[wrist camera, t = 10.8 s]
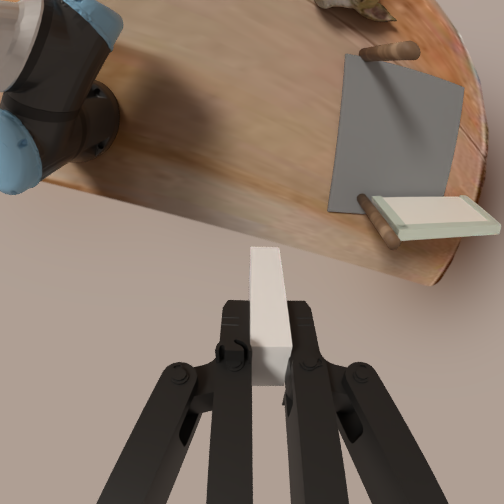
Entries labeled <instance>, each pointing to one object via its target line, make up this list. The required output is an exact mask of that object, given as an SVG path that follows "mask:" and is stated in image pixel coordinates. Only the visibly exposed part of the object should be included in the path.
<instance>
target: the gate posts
mask: <svg viewBox="0 0 504 504" xmlns="http://www.w3.org/2000/svg"><path fill="white" fill-rule="evenodd" d="M359 56H360V57H361V58H362V60H364V61H366V62H372V61H392V60H416V59H418V58H419V56H420V48H419V46H418V45H417V44H416V43H415V42H413V41H405V42H398V43H391V44H385V45H379V46H374V47H368V48H363V49H361V50H360V52H359ZM357 202H358V203H359V205H360V206H361V207H362V209H363V210H364V212H365V213H366V215H367V216H368V217H369V219H370V220H371V222H372V223H373V225H374V226H375V228H376V229H377V231H378V232H379V234H380V235H381V237H382V238H383V240H384V241H385V243H386V244H387V246H388V248H389V249H391V250H395V249H397V248H398V247H399V246H400V244H401V241H400V239H399V237H398V236H397V235H396V233H395V232H394V231H393V229H392V228H391V227H390V225H389V224H388V223H387V221H386V220H385V219H384V217H383V216H382V215H381V213H380V212H379V211H378V210H377V208H376V207H375V206H374V205H373V203H372V202H371V201H370V200H369V198H368V197H367V196H366V195H365V194H363V193H362V194H359V195H358V196H357Z"/></svg>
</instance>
